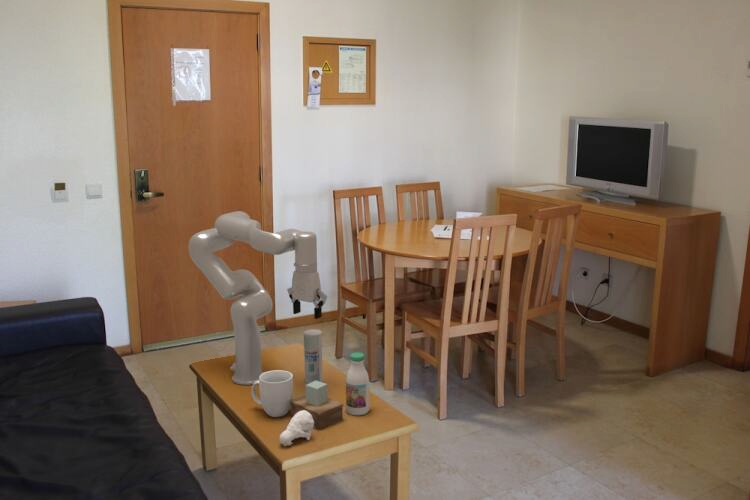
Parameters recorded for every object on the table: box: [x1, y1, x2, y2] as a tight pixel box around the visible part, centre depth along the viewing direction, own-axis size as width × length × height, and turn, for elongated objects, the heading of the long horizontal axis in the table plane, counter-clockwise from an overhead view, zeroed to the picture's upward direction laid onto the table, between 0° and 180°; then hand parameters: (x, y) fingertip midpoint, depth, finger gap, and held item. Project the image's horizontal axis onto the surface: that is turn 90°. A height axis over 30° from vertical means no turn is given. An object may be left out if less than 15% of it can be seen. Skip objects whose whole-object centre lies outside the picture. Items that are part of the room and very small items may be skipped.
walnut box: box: [290, 394, 344, 431], centre depth 237 cm, size 14×10×6 cm
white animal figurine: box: [278, 410, 314, 447], centre depth 221 cm, size 6×8×12 cm
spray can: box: [303, 328, 323, 386], centre depth 263 cm, size 6×6×20 cm
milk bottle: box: [345, 352, 370, 416], centre depth 240 cm, size 8×8×20 cm
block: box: [305, 380, 328, 406], centre depth 235 cm, size 5×5×6 cm
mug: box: [250, 369, 294, 418], centre depth 241 cm, size 15×11×13 cm
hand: (307, 315), depth 253 cm, fingers open, 9 cm apart
